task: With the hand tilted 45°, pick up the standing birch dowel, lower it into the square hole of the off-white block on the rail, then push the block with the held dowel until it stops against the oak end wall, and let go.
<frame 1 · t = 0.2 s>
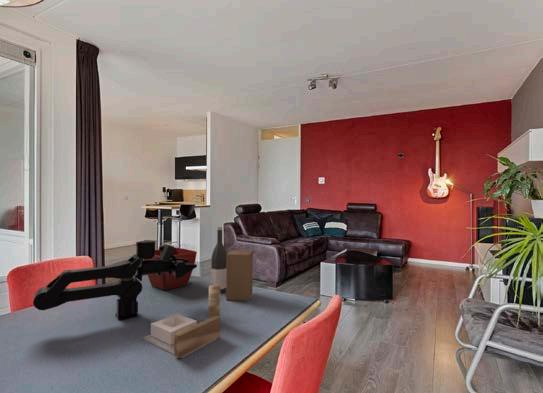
hand: (192, 263, 127), 16 cm above the table, tool horizontal, fingers open, 9 cm apart
socket block: (174, 328, 97), point 3 cm above the table, slide at 0.0 cm
dowel: (214, 322, 108), on the table
wooden block: (239, 297, 135), on the table
wine bottle: (219, 290, 144), on the table
rail base: (180, 339, 95), on the table
plant pot: (169, 285, 150), on the table
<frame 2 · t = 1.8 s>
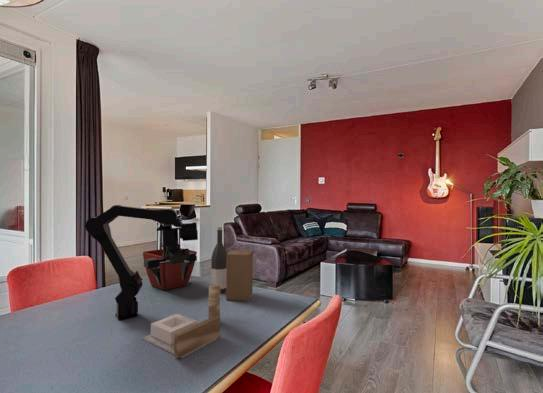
hand: (172, 282, 116), 12 cm above the table, tool pointing down, fingers open, 9 cm apart
nothing on the table moved.
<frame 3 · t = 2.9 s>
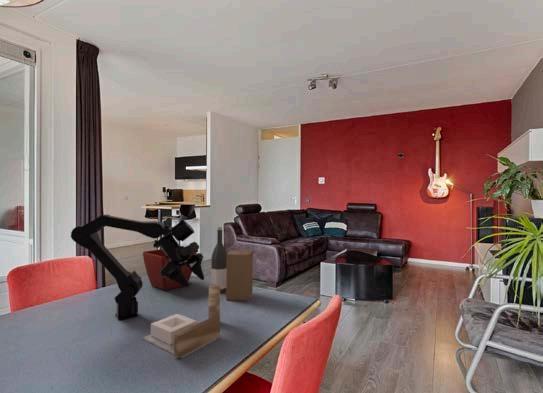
hand: (196, 282, 110), 13 cm above the table, tool tilted 45°, fingers open, 9 cm apart
nothing on the table moved.
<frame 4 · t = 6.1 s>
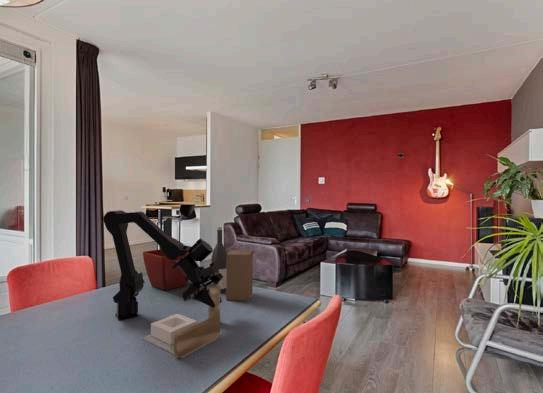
hand: (217, 304, 107), 7 cm above the table, tool tilted 45°, fingers closed on dowel, 4 cm apart
dowel: (214, 322, 108), on the table, touching gripper
everything else where it was.
when the fingers open (8 cm above the table, at t = 13.1 s): dowel stays where it is, resting on socket block.
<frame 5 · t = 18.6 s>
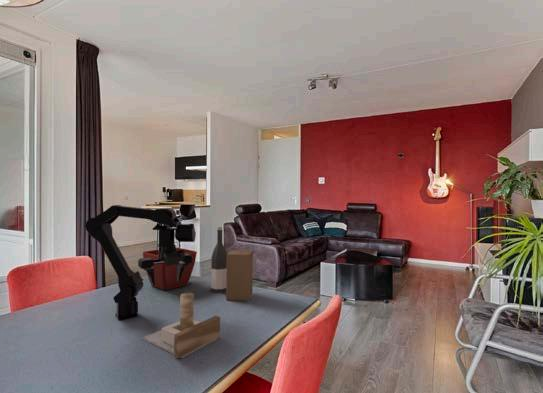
hand: (166, 283, 113), 12 cm above the table, tool pointing down, fingers open, 9 cm apart
socket block: (185, 332, 94), point 3 cm above the table, slide at 5.5 cm, touching dowel
dowel: (186, 336, 94), point 2 cm above the table, touching socket block
everything else where it was.
at the end: dowel 0.6 cm off-centre on the socket block, point 1.5 cm above the socket block's base; socket block slide at 5.5 cm; dowel tilted 0° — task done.
